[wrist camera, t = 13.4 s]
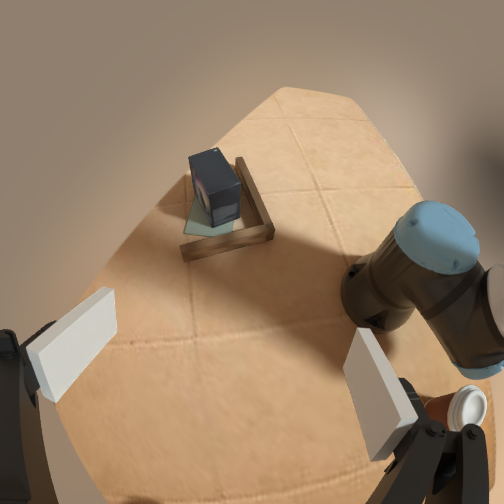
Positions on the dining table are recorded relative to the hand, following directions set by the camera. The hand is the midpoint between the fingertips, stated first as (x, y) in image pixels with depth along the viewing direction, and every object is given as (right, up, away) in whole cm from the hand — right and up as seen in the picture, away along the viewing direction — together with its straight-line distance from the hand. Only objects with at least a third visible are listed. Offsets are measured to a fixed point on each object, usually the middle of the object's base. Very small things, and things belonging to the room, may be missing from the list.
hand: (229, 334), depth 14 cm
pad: (-7, +13, +42) cm, 45 cm away
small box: (-6, +14, +43) cm, 45 cm away
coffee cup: (+35, -26, +23) cm, 50 cm away
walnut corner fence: (-6, +13, +42) cm, 45 cm away
